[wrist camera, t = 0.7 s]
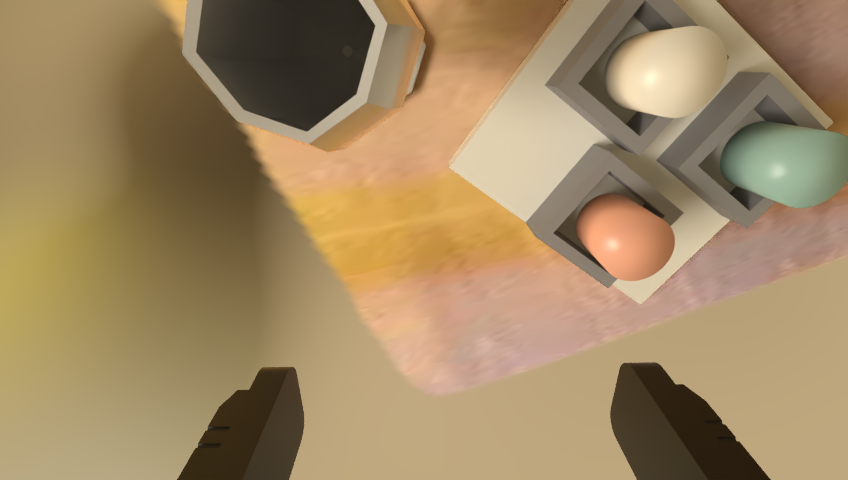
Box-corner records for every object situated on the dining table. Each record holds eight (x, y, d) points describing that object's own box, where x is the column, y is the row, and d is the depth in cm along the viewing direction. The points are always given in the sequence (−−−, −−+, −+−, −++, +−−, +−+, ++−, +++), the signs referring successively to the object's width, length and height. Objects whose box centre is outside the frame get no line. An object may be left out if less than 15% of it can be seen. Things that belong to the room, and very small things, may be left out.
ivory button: (641, 16, 27) (688, 5, 22) (690, 63, 28) (745, 63, 23) (588, 81, 28) (622, 84, 23) (637, 123, 29) (678, 134, 25)
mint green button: (760, 107, 29) (826, 115, 24) (802, 147, 30) (871, 162, 25) (706, 162, 30) (757, 180, 26) (747, 199, 31) (803, 221, 27)
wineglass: (447, 42, 31) (494, 7, 12) (380, 136, 34) (329, 232, 14) (350, -42, 29) (214, -252, 10) (286, 66, 32) (80, 68, 12)
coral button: (606, 180, 31) (640, 201, 26) (651, 215, 32) (690, 241, 27) (562, 229, 32) (586, 257, 28) (606, 261, 33) (636, 293, 29)
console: (622, -73, 28) (661, -100, 24) (810, 119, 34) (873, 127, 29) (447, 162, 35) (452, 177, 30) (630, 293, 40) (657, 323, 35)
